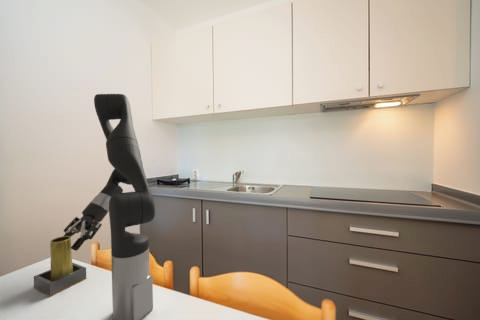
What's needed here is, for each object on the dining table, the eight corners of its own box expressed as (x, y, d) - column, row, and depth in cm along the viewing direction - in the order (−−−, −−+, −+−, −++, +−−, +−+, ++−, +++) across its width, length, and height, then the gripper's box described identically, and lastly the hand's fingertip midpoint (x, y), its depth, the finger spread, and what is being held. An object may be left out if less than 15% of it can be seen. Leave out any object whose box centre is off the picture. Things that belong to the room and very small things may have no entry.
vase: (52, 288, 66) (50, 244, 66) (48, 281, 70) (46, 239, 69) (75, 279, 71) (74, 238, 71) (70, 273, 75) (69, 234, 74)
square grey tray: (86, 278, 73) (86, 267, 73) (50, 296, 63) (49, 284, 63) (70, 272, 77) (69, 261, 77) (33, 288, 68) (33, 276, 68)
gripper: (81, 200, 82) (45, 239, 72) (104, 203, 76) (69, 246, 66) (95, 210, 87) (64, 248, 77) (118, 213, 81) (87, 255, 71)
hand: (66, 247), depth 72 cm, fingers open, 8 cm apart
